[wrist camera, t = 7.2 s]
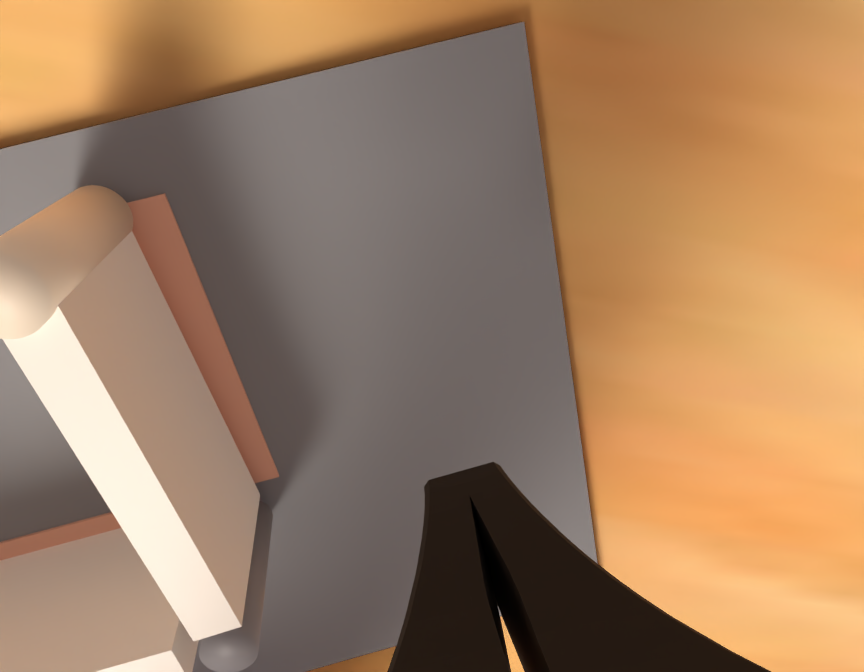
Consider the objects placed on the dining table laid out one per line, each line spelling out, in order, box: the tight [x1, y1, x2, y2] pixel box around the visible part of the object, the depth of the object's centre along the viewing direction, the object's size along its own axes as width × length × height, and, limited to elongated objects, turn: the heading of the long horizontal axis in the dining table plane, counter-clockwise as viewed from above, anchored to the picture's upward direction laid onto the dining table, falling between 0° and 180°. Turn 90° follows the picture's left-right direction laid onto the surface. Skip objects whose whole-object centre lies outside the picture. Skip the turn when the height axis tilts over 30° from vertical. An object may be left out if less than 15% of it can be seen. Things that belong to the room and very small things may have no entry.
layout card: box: [0, 22, 598, 672], centre depth 20 cm, size 22×20×1 cm
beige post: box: [0, 185, 273, 672], centre depth 16 cm, size 12×2×5 cm, turn 15°
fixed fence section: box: [0, 528, 199, 672], centre depth 18 cm, size 10×2×6 cm, turn 102°
